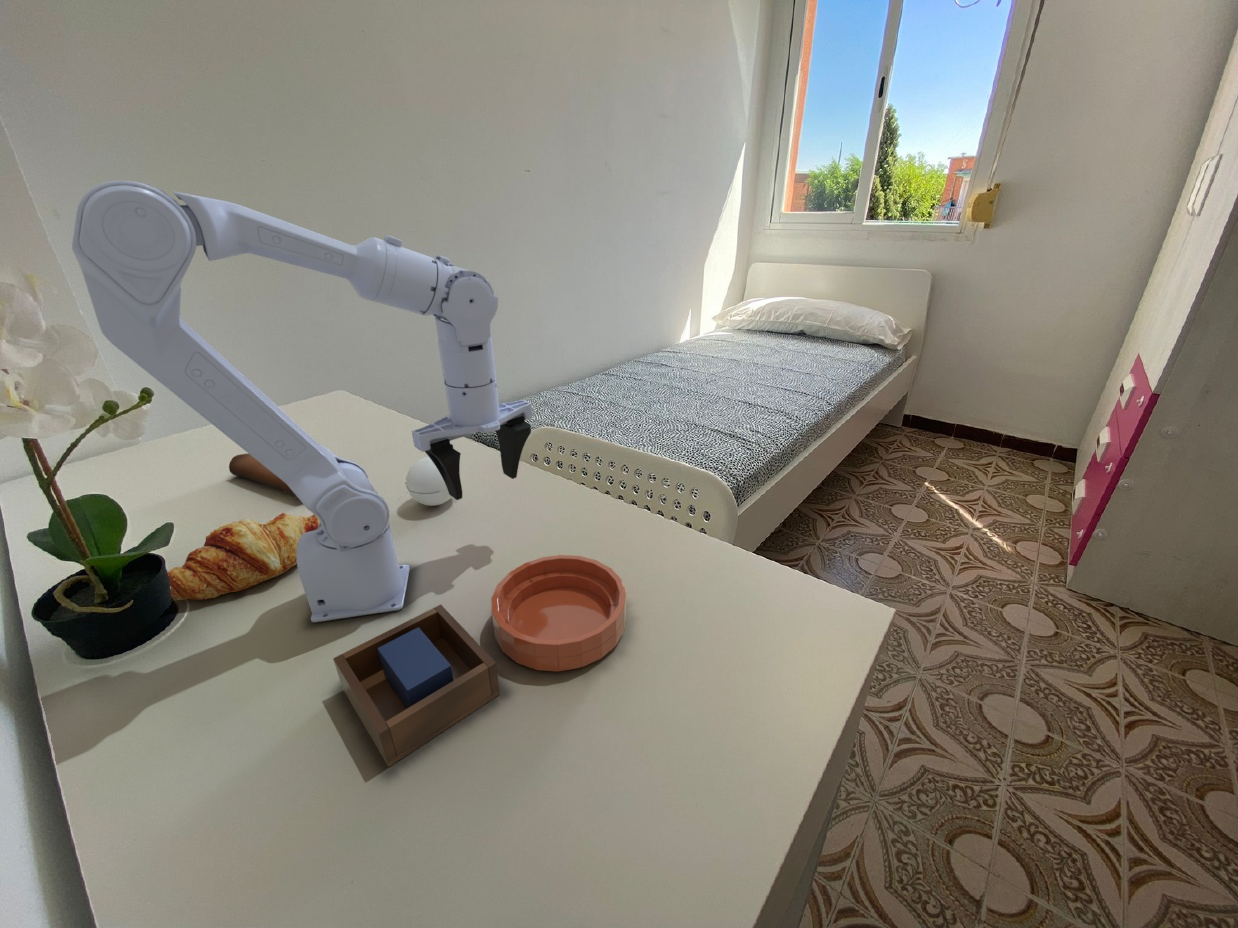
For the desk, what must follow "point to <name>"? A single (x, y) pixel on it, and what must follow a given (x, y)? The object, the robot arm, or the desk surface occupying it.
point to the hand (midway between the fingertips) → (483, 485)
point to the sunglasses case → (256, 472)
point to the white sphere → (426, 483)
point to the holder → (433, 714)
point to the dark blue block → (414, 667)
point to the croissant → (240, 557)
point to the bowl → (559, 612)
